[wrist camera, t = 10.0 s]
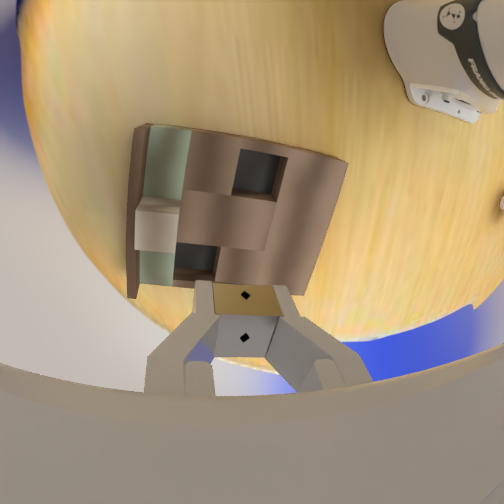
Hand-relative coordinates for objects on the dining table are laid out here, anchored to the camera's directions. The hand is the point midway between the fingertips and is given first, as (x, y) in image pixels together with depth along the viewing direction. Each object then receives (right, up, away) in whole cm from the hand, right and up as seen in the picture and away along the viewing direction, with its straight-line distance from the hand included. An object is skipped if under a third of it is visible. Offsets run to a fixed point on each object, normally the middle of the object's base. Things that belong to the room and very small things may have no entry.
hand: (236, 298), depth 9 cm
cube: (-9, +5, +19) cm, 22 cm away
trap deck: (-2, +6, +24) cm, 25 cm away
